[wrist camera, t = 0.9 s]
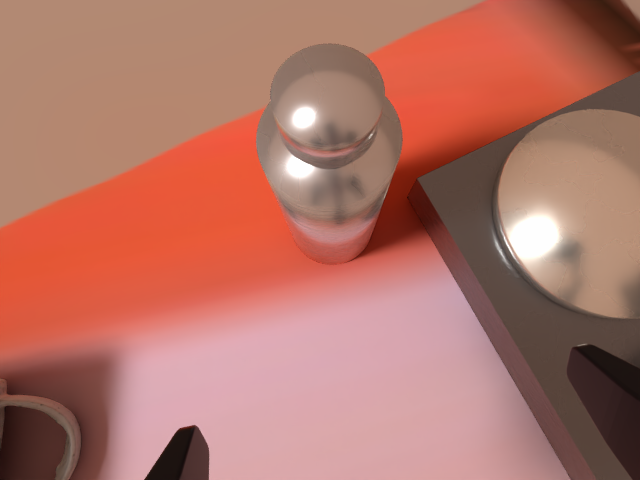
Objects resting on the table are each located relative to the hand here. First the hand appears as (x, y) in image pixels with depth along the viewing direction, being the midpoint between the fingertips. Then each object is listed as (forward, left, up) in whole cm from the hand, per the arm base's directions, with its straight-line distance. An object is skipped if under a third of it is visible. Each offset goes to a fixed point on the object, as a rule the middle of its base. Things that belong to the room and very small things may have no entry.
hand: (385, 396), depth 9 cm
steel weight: (+8, -2, -13) cm, 15 cm away
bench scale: (-3, -15, -13) cm, 20 cm away
